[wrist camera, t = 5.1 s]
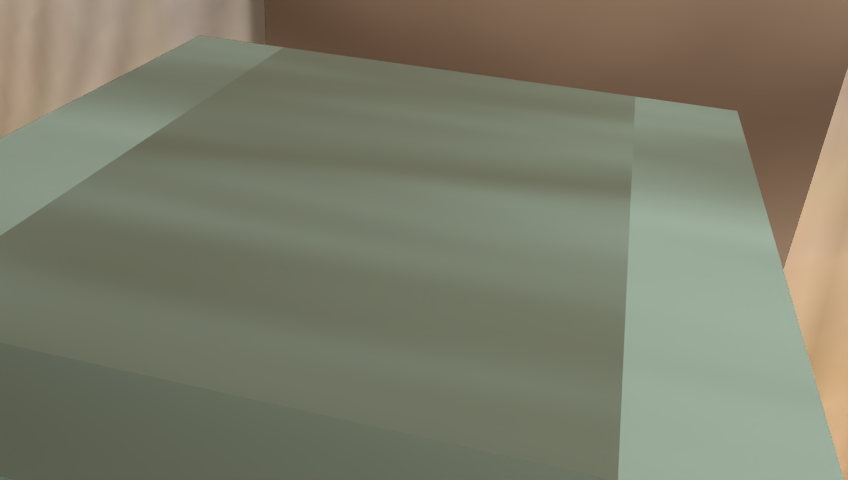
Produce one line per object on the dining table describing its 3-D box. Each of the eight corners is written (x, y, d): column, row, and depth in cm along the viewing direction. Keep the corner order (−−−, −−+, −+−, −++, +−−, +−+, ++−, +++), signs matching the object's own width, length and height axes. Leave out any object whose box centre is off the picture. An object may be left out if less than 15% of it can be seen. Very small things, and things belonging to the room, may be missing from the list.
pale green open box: (199, 36, 10) (-276, 281, 5) (737, 111, 9) (858, 535, 4) (227, 427, 13) (-44, 829, 8) (626, 520, 12) (610, 1057, 7)
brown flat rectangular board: (279, -148, 20) (260, -147, 19) (883, -96, 18) (897, -92, 17) (292, 496, 30) (280, 520, 29) (672, 585, 28) (673, 614, 27)
